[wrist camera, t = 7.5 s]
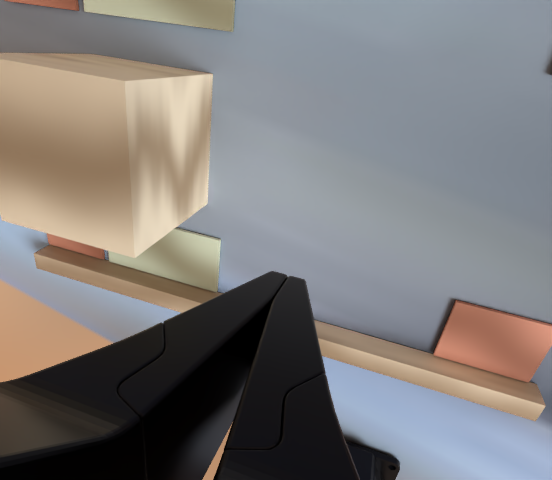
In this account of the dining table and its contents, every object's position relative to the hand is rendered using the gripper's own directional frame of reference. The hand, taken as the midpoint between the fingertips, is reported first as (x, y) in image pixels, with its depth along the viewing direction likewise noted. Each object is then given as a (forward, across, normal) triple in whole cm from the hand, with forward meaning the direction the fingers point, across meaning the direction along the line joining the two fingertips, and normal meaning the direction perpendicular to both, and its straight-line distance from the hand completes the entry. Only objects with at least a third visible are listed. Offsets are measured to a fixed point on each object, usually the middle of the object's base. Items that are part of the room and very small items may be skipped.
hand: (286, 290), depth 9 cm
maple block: (+11, +11, 0) cm, 16 cm away
